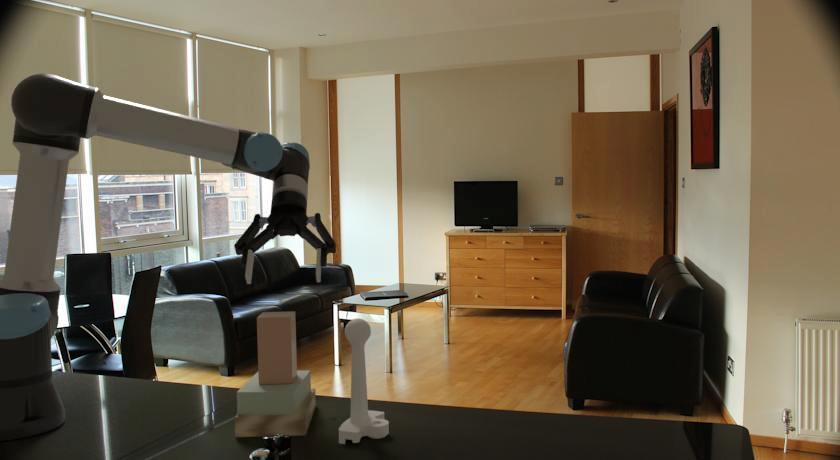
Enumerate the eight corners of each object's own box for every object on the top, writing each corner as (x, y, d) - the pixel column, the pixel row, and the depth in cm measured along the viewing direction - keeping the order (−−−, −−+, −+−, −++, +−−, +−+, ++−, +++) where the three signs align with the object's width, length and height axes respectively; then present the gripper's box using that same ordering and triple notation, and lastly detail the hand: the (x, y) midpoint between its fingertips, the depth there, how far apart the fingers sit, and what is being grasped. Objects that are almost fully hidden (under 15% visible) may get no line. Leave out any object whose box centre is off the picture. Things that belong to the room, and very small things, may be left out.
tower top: (237, 414, 121) (236, 392, 121) (259, 391, 135) (258, 370, 135) (294, 414, 121) (294, 392, 120) (310, 390, 135) (310, 370, 134)
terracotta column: (258, 384, 125) (256, 317, 125) (264, 375, 131) (262, 312, 131) (292, 383, 125) (290, 316, 125) (297, 374, 131) (295, 311, 131)
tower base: (235, 440, 120) (234, 417, 120) (253, 410, 136) (253, 390, 136) (305, 438, 121) (305, 415, 120) (315, 408, 137) (315, 388, 136)
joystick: (362, 421, 127) (360, 312, 126) (400, 426, 124) (399, 314, 123) (332, 442, 117) (330, 324, 116) (373, 448, 114) (371, 326, 113)
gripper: (348, 211, 155) (347, 288, 141) (233, 213, 153) (221, 291, 139) (347, 187, 149) (346, 265, 135) (228, 189, 147) (215, 268, 133)
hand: (283, 279), depth 137 cm, fingers open, 13 cm apart
